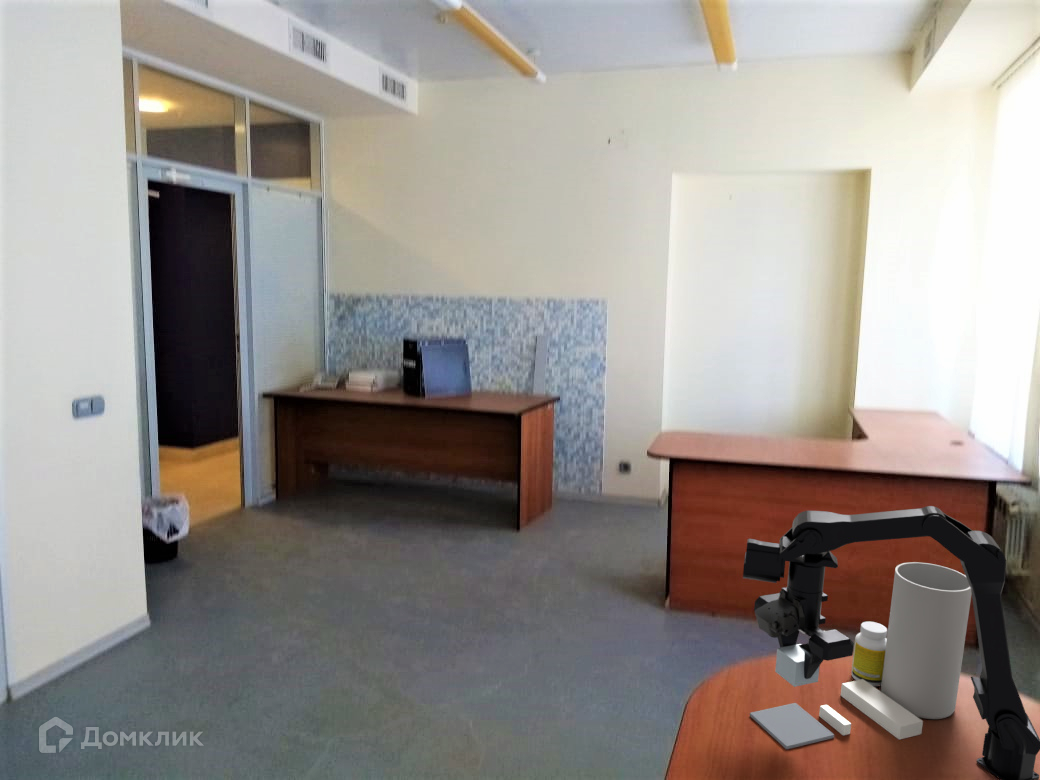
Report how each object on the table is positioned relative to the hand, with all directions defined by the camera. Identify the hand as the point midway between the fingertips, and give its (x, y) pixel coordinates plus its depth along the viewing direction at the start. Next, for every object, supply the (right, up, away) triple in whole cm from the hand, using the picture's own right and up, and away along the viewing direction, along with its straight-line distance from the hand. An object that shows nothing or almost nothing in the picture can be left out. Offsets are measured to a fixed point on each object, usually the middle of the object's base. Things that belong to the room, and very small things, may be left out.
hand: (796, 670), depth 136 cm
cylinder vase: (+26, -10, +11) cm, 30 cm away
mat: (0, -11, +2) cm, 11 cm away
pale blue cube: (0, -1, 0) cm, 1 cm away
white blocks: (+13, -10, +5) cm, 18 cm away
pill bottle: (+20, -8, +18) cm, 28 cm away
